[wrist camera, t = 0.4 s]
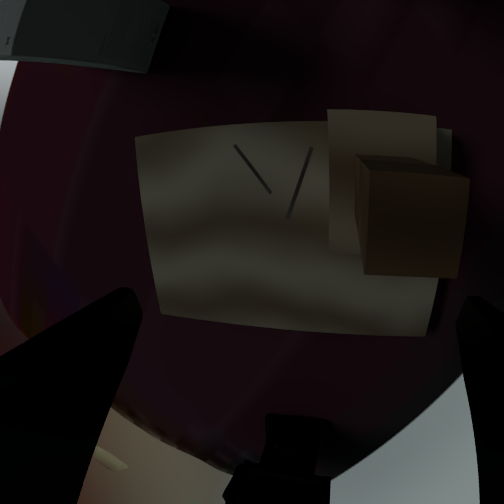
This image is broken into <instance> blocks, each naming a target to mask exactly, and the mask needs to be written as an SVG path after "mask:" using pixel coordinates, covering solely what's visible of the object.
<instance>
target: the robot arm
mask: <svg viewBox="0 0 504 504" xmlns="http://www.w3.org/2000/svg"><path fill="white" fill-rule="evenodd" d="M142 316H143V313H142V309H141V306H140V303H139V300H138V297H137V294H136V292H135V290H134V289H132V288H125V287H121V288H118V289H116V290H114V291H113V292H111V293H109V294H107V295H105V296H104V297H102V298H100V299H98V300H97V301H95V302H93V303H91V304H89V305H88V306H86V307H84V308H82V309H81V310H79V311H77V312H75V313H74V314H72V315H70V316H68V317H67V318H65V319H63V320H61V321H60V322H58V323H56V324H54V325H53V326H51V327H49V328H48V329H46V330H44V331H42V332H41V333H39V334H37V335H36V336H34V337H32V338H31V339H29V340H27V341H26V342H24V344H21V345H19V346H17V347H15V348H14V349H12V350H10V351H8V352H7V353H5V354H3V355H2V356H0V504H77V501H78V498H79V495H80V492H81V489H82V486H83V481H84V479H85V476H86V473H87V470H88V467H89V464H90V461H91V458H92V456H93V453H94V450H95V447H96V444H97V442H98V439H99V436H100V433H101V431H102V428H103V425H104V423H105V420H106V417H107V415H108V412H109V410H110V407H111V405H112V402H113V399H114V397H115V394H116V392H117V389H118V387H119V384H120V382H121V380H122V377H123V375H124V372H125V370H126V367H127V365H128V362H129V359H130V356H131V353H132V350H133V346H134V343H135V340H136V337H137V333H138V330H139V327H140V324H141V321H142ZM456 332H457V337H458V343H459V349H460V356H461V363H462V370H463V377H464V381H465V387H466V391H467V396H468V401H469V406H470V411H471V418H472V424H473V431H474V438H475V445H476V454H477V464H478V475H479V494H480V504H504V314H503V313H502V312H501V311H499V310H498V309H496V308H495V307H494V306H492V305H491V304H490V303H488V302H487V301H486V300H484V299H483V298H481V297H480V296H468V297H466V298H465V300H464V302H463V305H462V307H461V310H460V313H459V315H458V318H457V321H456ZM326 428H327V421H325V420H318V419H307V418H298V417H289V416H282V415H274V414H267V415H266V417H265V429H266V444H265V447H264V450H263V453H262V456H261V459H260V462H259V464H258V463H254V462H250V461H249V460H245V461H244V463H243V464H242V465H238V466H237V467H236V469H235V472H234V474H233V477H232V479H231V481H230V482H229V484H228V486H227V487H226V489H225V491H224V493H223V495H222V497H223V498H224V500H225V502H226V503H225V504H330V483H331V477H328V476H325V477H323V476H316V475H314V473H315V467H316V462H317V457H318V454H321V453H322V448H323V443H324V438H325V433H326Z"/></svg>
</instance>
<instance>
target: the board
mask: <svg viewBox="0 0 504 504" xmlns="http://www.w3.org/2000/svg"><path fill="white" fill-rule="evenodd" d="M135 145H136V156H137V166H138V176H139V185H140V193H141V201H142V208H143V215H144V222H145V229H146V235H147V242H148V248H149V254H150V259H151V265H152V270H153V276H154V281H155V286H156V291H157V296H158V301H159V306H160V310H161V314H167V315H173V316H180V317H187V318H194V319H201V320H208V321H216V322H223V323H231V324H240V325H249V326H258V327H267V328H278V329H288V330H300V331H312V332H326V333H342V334H360V335H384V336H425V335H426V331H427V327H428V323H429V319H430V315H431V311H432V307H433V302H434V298H435V293H436V289H437V284H438V278H427V277H402V276H379V275H364V271H363V264H362V257H361V254H340V253H328V246H329V139H328V121H289V122H265V123H248V124H234V125H223V126H212V127H203V128H194V129H186V130H178V131H171V132H164V133H157V134H151V135H145V136H139V137H135ZM451 159H452V130H449V129H441V128H436V166H438V167H441V168H444V169H446V170H449V171H451Z"/></svg>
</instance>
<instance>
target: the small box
mask: <svg viewBox="0 0 504 504" xmlns="http://www.w3.org/2000/svg"><path fill="white" fill-rule="evenodd" d="M169 8H170V5H169V4H167V3H165V2H164V1H162V0H0V60H13V61H32V62H48V63H60V64H70V65H78V66H85V67H95V68H104V69H113V70H121V71H129V72H137V73H147V72H148V69H149V66H150V63H151V60H152V57H153V54H154V50H155V47H156V45H157V41H158V39H159V36H160V33H161V30H162V27H163V24H164V21H165V19H166V16H167V13H168V11H169Z"/></svg>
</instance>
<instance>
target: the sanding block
mask: <svg viewBox="0 0 504 504" xmlns="http://www.w3.org/2000/svg"><path fill="white" fill-rule="evenodd" d="M327 113H328V139H329V246H328V253H340V254H361V257H362V264H363V271H364V275H379V276H402V277H427V278H455V279H457V274H458V269H459V264H460V259H461V253H462V247H463V241H464V234H465V227H466V219H467V210H468V200H469V188H470V178H467V177H465V176H462V175H460V174H457V173H454V172H452V171H449V170H446V169H444V168H441V167H438V166H436V116H429V115H420V114H410V113H399V112H386V111H368V110H336V109H327Z"/></svg>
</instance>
